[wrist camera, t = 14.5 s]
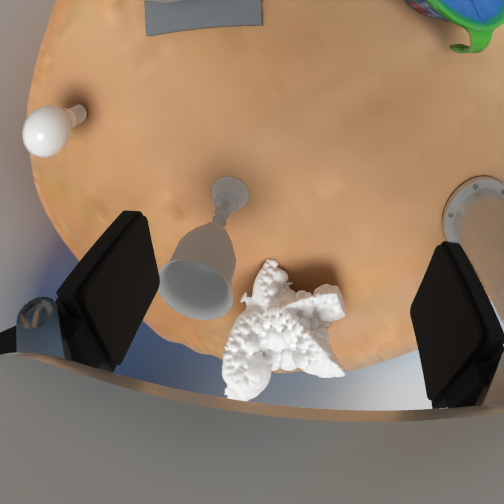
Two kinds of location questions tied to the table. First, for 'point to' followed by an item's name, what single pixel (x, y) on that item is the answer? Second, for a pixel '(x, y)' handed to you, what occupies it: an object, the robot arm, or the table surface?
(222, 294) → the chalice
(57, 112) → the lightbulb
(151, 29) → the charcoal mat
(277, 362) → the white bumpy sculpture
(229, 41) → the table surface
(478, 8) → the snack cup
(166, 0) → the skincare box
